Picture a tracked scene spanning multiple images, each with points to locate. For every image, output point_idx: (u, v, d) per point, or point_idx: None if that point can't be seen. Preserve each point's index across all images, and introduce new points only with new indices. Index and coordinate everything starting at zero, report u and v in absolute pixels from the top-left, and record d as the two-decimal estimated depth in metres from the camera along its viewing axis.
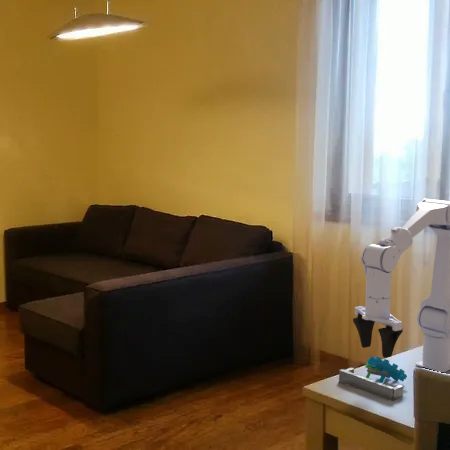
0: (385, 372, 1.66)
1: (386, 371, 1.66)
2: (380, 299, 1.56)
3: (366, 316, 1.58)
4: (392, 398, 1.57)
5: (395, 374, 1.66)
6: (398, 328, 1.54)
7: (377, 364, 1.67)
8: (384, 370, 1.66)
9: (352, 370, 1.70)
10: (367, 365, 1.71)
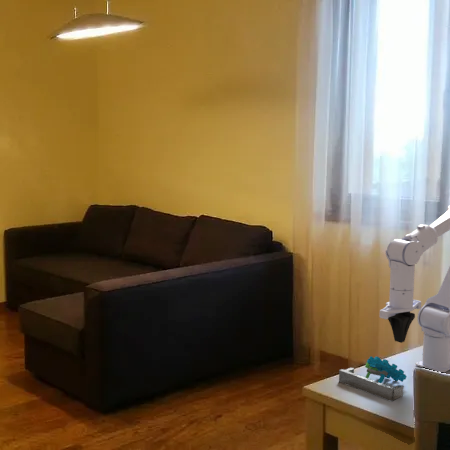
0: (384, 372, 1.66)
1: (385, 371, 1.66)
2: (391, 289, 1.67)
3: (388, 302, 1.71)
4: (392, 398, 1.57)
5: (395, 374, 1.66)
6: (383, 316, 1.64)
7: (377, 364, 1.67)
8: (383, 370, 1.66)
9: (352, 370, 1.70)
10: (367, 365, 1.71)
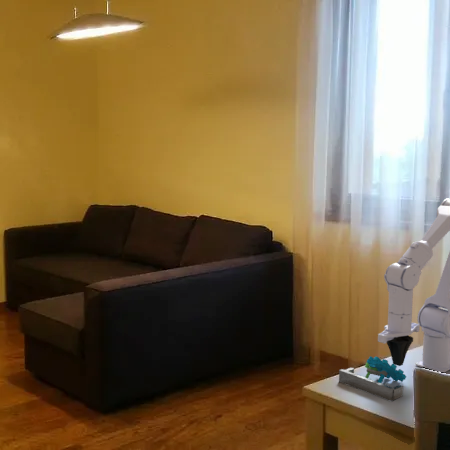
0: (384, 372, 1.66)
1: (385, 371, 1.66)
2: (389, 312, 1.68)
3: (387, 326, 1.72)
4: (392, 398, 1.57)
5: (394, 374, 1.66)
6: (381, 340, 1.65)
7: (376, 364, 1.67)
8: (383, 370, 1.66)
9: (352, 370, 1.70)
10: (367, 365, 1.71)
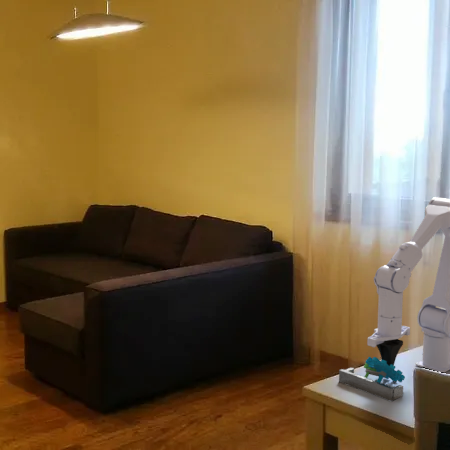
0: (383, 373, 1.65)
1: (384, 372, 1.66)
2: (379, 316, 1.66)
3: (377, 329, 1.69)
4: (392, 398, 1.57)
5: (393, 375, 1.65)
6: (371, 344, 1.62)
7: (375, 364, 1.66)
8: (382, 371, 1.66)
9: (352, 370, 1.70)
10: (366, 365, 1.70)
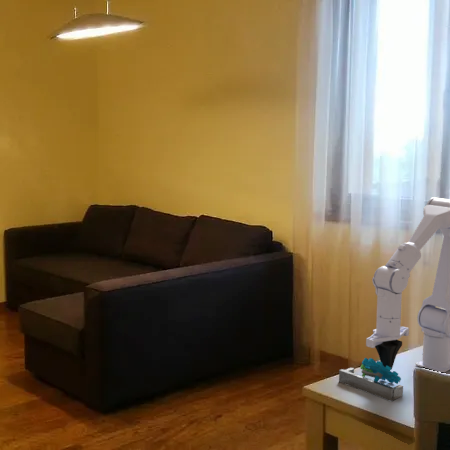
0: (379, 374, 1.65)
1: (380, 373, 1.65)
2: (378, 316, 1.65)
3: (376, 329, 1.69)
4: (392, 398, 1.57)
5: (389, 376, 1.65)
6: (370, 345, 1.62)
7: (371, 366, 1.66)
8: (378, 372, 1.65)
9: (352, 370, 1.70)
10: (362, 366, 1.70)
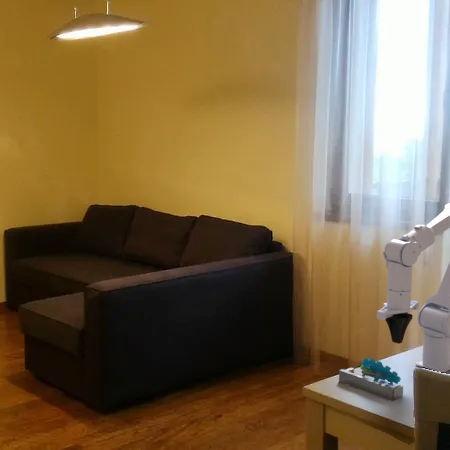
0: (379, 374, 1.65)
1: (380, 373, 1.65)
2: (388, 289, 1.67)
3: (386, 303, 1.70)
4: (392, 398, 1.57)
5: (389, 376, 1.64)
6: (381, 317, 1.63)
7: (371, 366, 1.66)
8: (378, 372, 1.65)
9: (352, 370, 1.70)
10: (362, 366, 1.70)
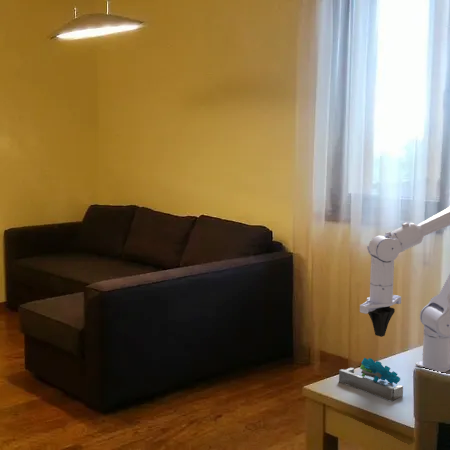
0: (378, 374, 1.65)
1: (379, 373, 1.65)
2: (371, 284, 1.72)
3: (369, 297, 1.76)
4: (392, 398, 1.57)
5: (388, 376, 1.64)
6: (363, 311, 1.69)
7: (370, 366, 1.66)
8: (377, 372, 1.65)
9: (352, 370, 1.70)
10: (362, 366, 1.70)
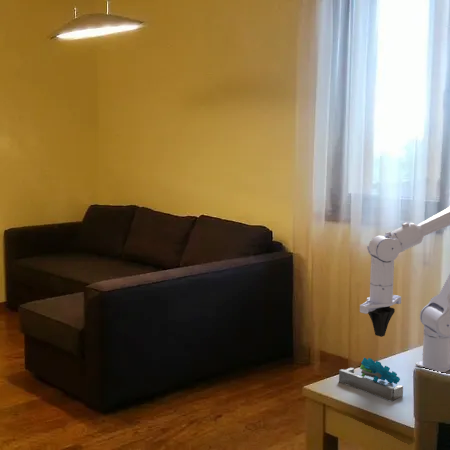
0: (378, 374, 1.65)
1: (379, 373, 1.65)
2: (371, 284, 1.72)
3: (369, 297, 1.76)
4: (392, 398, 1.57)
5: (388, 376, 1.64)
6: (363, 311, 1.69)
7: (370, 366, 1.66)
8: (377, 372, 1.65)
9: (352, 370, 1.70)
10: (362, 366, 1.70)
